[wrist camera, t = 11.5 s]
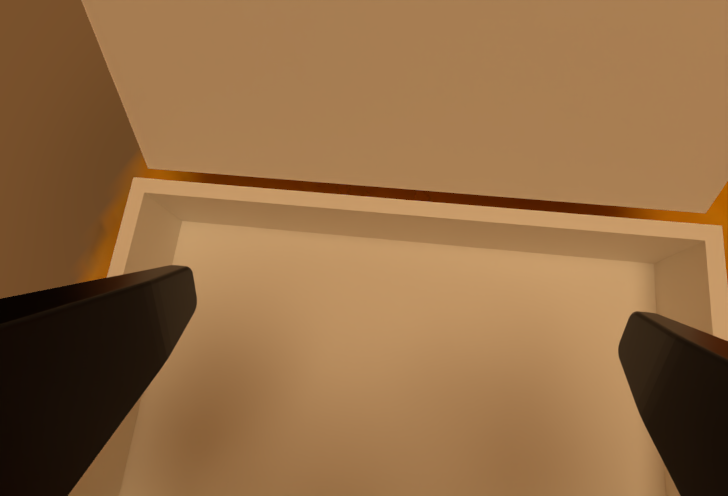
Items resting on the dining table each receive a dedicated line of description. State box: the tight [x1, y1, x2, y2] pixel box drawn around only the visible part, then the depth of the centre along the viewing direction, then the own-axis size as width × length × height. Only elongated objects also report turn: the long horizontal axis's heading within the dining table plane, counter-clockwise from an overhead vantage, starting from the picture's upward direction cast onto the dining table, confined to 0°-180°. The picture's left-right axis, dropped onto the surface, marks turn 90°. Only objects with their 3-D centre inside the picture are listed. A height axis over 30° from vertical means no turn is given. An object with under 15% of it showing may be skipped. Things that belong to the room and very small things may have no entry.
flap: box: [81, 0, 728, 213], centre depth 13 cm, size 12×21×1 cm
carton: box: [68, 177, 728, 496], centre depth 18 cm, size 14×22×4 cm, turn 83°
